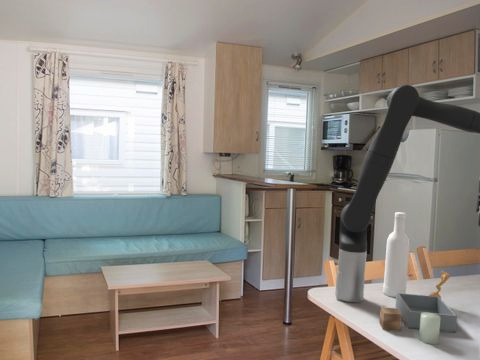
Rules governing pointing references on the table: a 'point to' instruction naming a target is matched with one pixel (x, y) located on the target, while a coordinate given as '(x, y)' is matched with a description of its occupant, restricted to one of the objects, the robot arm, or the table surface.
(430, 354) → the table surface
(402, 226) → the bottle
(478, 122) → the robot arm
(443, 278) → the figurine
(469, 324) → the table surface
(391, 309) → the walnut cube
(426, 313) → the sage cylinder
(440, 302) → the tote
